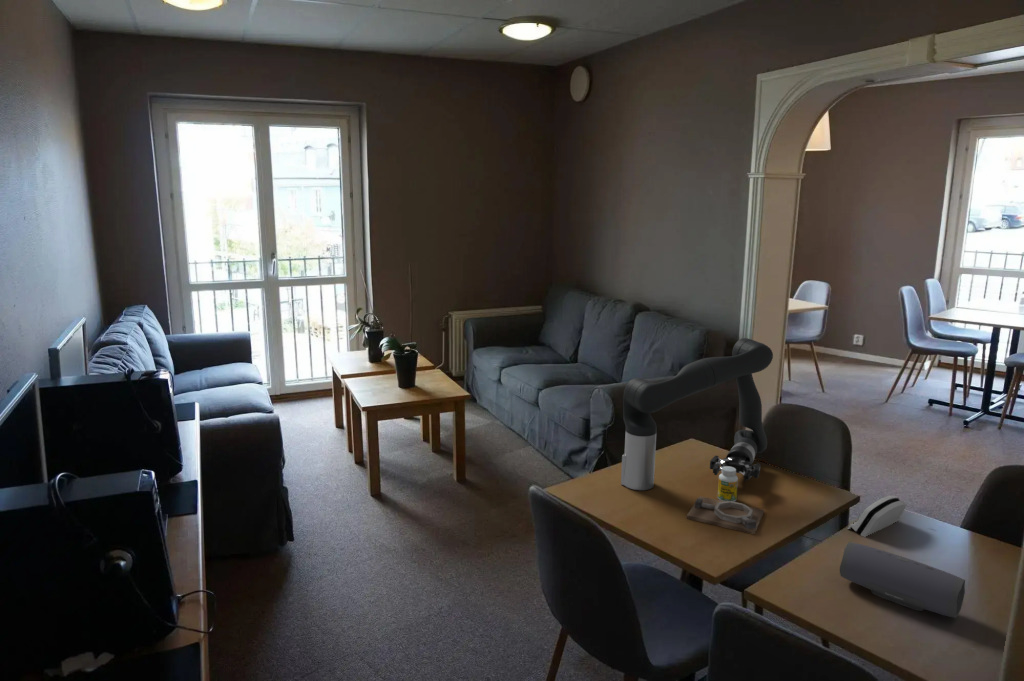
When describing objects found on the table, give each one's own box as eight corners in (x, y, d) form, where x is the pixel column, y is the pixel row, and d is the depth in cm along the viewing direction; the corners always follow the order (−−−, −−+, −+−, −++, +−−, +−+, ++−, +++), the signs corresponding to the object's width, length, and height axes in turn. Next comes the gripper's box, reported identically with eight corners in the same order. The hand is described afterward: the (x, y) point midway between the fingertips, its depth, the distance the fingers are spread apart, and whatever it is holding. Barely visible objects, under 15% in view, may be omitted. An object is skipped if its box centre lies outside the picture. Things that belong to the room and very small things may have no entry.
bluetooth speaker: (962, 612, 147) (968, 570, 145) (952, 631, 140) (959, 588, 138) (850, 572, 162) (855, 533, 160) (836, 588, 155) (841, 548, 153)
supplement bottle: (736, 496, 202) (738, 466, 200) (736, 504, 197) (739, 473, 195) (717, 494, 203) (719, 464, 201) (717, 501, 198) (719, 471, 196)
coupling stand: (686, 518, 188) (687, 509, 187) (699, 499, 200) (700, 490, 199) (754, 534, 180) (755, 524, 179) (763, 513, 191) (764, 504, 191)
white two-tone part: (880, 514, 191) (896, 487, 187) (895, 525, 188) (912, 498, 183) (846, 529, 182) (862, 501, 178) (861, 542, 179) (878, 514, 174)
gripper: (718, 441, 218) (706, 458, 204) (765, 449, 211) (756, 467, 197) (717, 463, 219) (705, 481, 205) (763, 472, 213) (754, 491, 199)
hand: (730, 474), depth 201 cm, fingers open, 8 cm apart
